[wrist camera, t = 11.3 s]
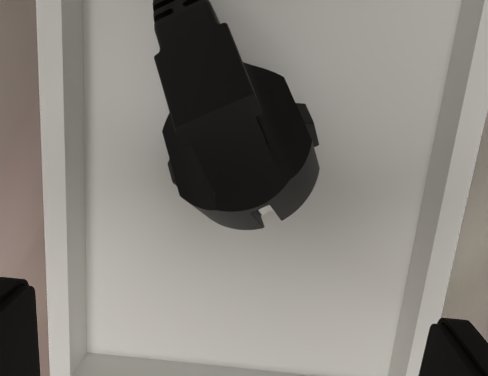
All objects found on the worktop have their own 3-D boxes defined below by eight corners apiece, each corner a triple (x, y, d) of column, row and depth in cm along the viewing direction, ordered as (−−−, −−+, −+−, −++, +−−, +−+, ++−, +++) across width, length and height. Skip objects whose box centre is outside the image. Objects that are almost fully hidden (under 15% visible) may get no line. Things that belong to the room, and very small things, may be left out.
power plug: (213, -118, 16) (334, 144, 11) (259, 18, 23) (346, 216, 18) (84, -50, 17) (148, 220, 12) (166, 62, 24) (227, 262, 19)
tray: (60, -202, 17) (26, -250, 14) (515, -168, 16) (559, -212, 14) (72, 360, 23) (50, 393, 21) (399, 393, 23) (415, 430, 20)
